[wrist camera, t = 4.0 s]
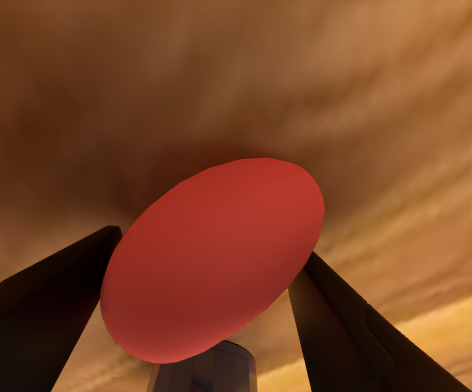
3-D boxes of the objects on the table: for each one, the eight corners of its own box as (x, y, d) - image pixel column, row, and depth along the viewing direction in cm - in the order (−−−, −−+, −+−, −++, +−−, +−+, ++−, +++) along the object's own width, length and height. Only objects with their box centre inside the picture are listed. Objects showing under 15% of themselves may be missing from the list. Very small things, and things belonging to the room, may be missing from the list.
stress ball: (104, 193, 11) (36, 352, 8) (248, 77, 5) (224, 475, 2) (190, 228, 14) (168, 349, 11) (335, 178, 8) (378, 395, 5)
